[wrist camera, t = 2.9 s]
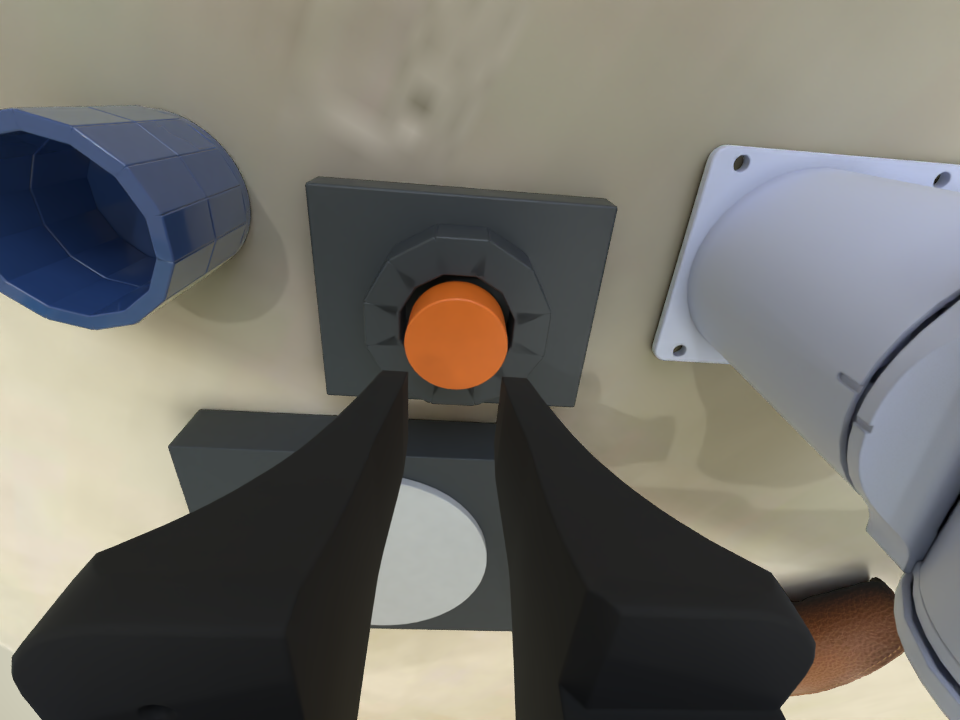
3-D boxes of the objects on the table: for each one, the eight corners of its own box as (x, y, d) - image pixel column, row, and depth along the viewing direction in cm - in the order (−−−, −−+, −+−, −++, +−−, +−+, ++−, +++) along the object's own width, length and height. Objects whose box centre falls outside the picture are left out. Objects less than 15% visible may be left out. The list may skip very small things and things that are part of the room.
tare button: (509, 283, 15) (513, 301, 13) (499, 368, 16) (502, 393, 15) (409, 276, 15) (403, 295, 13) (409, 363, 16) (404, 388, 15)
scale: (560, 426, 21) (573, 470, 18) (527, 589, 27) (533, 640, 24) (199, 408, 20) (160, 453, 18) (246, 581, 26) (222, 633, 23)
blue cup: (235, 112, 15) (137, 118, 10) (262, 276, 17) (193, 336, 13) (59, 97, 14) (-119, 97, 10) (114, 266, 17) (-8, 325, 13)
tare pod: (607, 198, 16) (634, 217, 13) (568, 389, 20) (583, 432, 17) (316, 176, 16) (286, 191, 13) (335, 377, 19) (314, 420, 17)
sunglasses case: (597, 701, 32) (610, 788, 26) (568, 603, 33) (573, 666, 26) (868, 649, 30) (959, 732, 23) (834, 544, 30) (915, 596, 24)
